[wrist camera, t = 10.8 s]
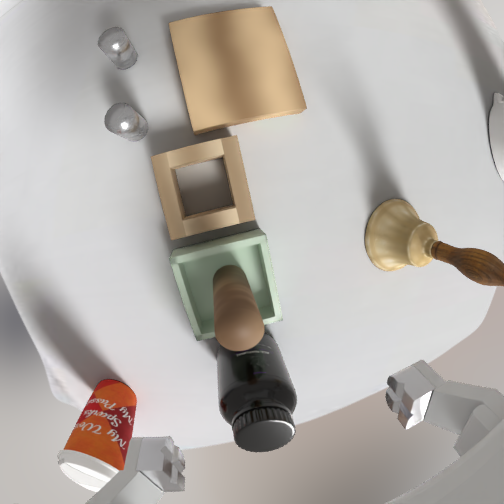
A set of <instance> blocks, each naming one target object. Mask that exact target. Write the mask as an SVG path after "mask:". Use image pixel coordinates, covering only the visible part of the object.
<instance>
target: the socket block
mask: <svg viewBox="0 0 504 504" xmlns="http://www.w3.org/2000/svg"><path fill="white" fill-rule="evenodd" d="M219 158H223V161H224V165H225V170H226V174H227V179H228V183H229V188H230V192H231V197H232V201H233V205H230V206H226V207H222V208H218V209H213V210H209V211H205V212H201V213H197V214H193V215H190V216H186V214H185V210H184V206H183V202H182V198H181V194H180V190H179V185H178V181H177V177H176V172H175V169H178V168H182V167H186V166H190V165H193V164H197V163H202V162H206V161H210V160H214V159H219ZM151 160H152V164H153V169H154V173H155V178H156V182H157V187H158V191H159V195H160V199H161V203H162V207H163V211H164V215H165V219H166V223H167V227H168V230H169V234H170V238H171V240H175V239H179V238H183V237H187V236H191V235H195V234H199V233H203V232H207V231H211V230H215V229H219V228H223V227H227V226H231V225H235V224H239V223H244V222H248V221H252V220H255V216H254V211H253V206H252V202H251V197H250V192H249V188H248V183H247V178H246V174H245V169H244V165H243V160H242V156H241V151H240V147H239V142H238V138H237V135H236V136H231V137H226V138H221V139H216V140H212V141H208V142H203V143H199V144H195V145H191V146H187V147H183V148H179V149H176V150H172V151H168V152H165V153H161V154H158V155H155V156H151Z"/></svg>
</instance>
